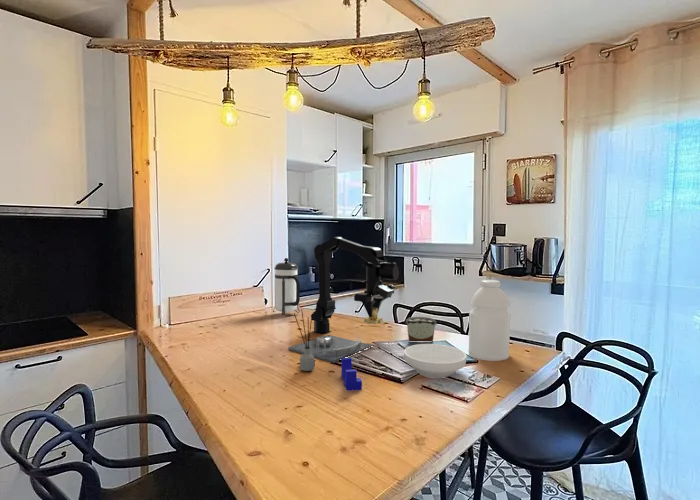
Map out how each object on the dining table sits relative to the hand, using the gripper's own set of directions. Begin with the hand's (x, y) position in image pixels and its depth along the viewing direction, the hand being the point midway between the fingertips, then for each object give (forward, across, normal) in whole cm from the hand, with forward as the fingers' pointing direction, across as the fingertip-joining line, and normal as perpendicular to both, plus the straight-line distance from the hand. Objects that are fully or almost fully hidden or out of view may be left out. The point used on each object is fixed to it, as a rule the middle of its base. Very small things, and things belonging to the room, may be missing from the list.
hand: (373, 315), depth 162 cm
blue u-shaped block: (+11, -40, -21) cm, 47 cm away
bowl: (+11, -18, -37) cm, 42 cm away
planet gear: (+2, 0, 0) cm, 2 cm away
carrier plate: (+10, -19, +6) cm, 23 cm away
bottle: (+11, +10, -44) cm, 47 cm away
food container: (+11, +11, -16) cm, 22 cm away
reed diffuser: (+11, -42, -2) cm, 43 cm away
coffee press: (+10, +14, +67) cm, 70 cm away
